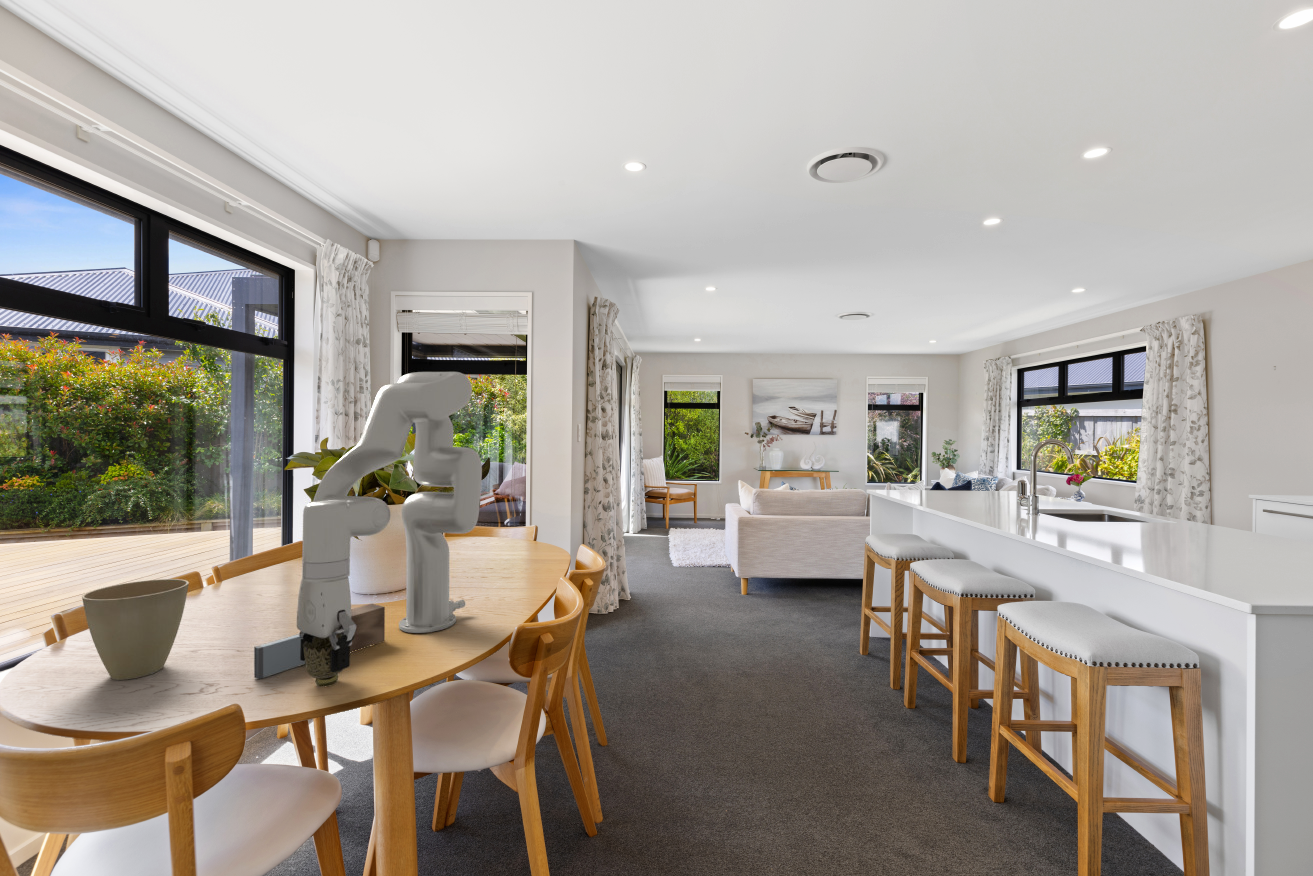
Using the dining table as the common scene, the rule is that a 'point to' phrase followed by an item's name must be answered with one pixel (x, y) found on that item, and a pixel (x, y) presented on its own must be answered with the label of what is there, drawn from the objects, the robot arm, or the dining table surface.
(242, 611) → the dining table surface
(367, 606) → the dark brown rectangular beam
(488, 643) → the dining table surface
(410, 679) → the dining table surface
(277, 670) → the gray rectangular panel
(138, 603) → the plant pot
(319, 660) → the cup
